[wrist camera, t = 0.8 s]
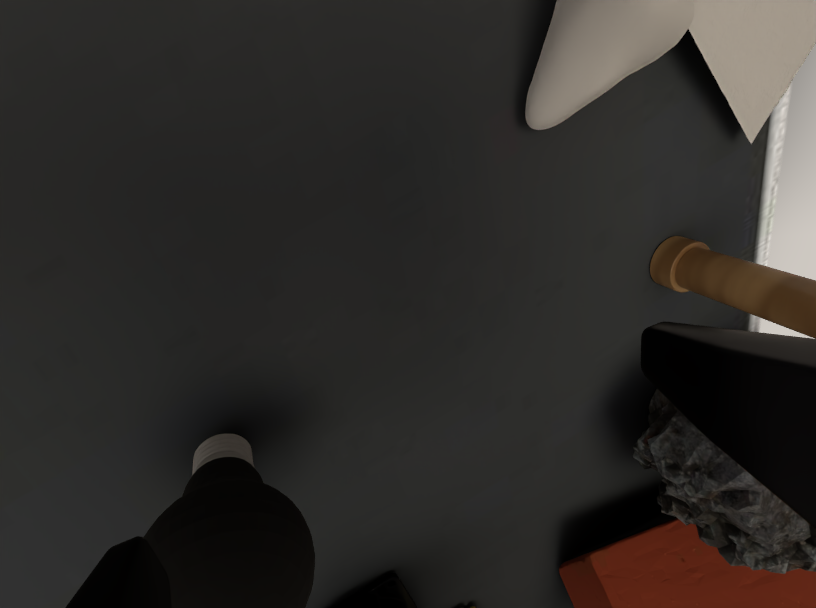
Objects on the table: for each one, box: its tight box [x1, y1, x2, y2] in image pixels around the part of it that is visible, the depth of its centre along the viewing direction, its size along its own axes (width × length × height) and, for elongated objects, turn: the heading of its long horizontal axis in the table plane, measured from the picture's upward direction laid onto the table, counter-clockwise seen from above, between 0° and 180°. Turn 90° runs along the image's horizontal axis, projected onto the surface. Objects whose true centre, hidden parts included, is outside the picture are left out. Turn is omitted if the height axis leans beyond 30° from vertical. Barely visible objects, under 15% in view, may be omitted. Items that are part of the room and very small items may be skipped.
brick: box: [559, 518, 816, 608], centre depth 33 cm, size 18×9×6 cm
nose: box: [525, 0, 694, 130], centre depth 20 cm, size 5×7×7 cm
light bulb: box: [144, 434, 315, 608], centre depth 18 cm, size 6×6×10 cm
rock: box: [633, 389, 816, 574], centre depth 29 cm, size 16×14×15 cm
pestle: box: [650, 236, 816, 339], centre depth 23 cm, size 3×3×12 cm
